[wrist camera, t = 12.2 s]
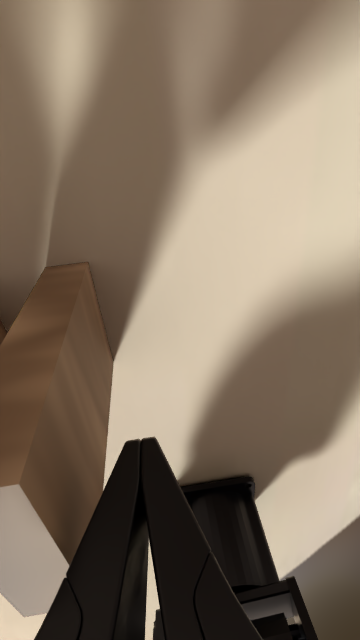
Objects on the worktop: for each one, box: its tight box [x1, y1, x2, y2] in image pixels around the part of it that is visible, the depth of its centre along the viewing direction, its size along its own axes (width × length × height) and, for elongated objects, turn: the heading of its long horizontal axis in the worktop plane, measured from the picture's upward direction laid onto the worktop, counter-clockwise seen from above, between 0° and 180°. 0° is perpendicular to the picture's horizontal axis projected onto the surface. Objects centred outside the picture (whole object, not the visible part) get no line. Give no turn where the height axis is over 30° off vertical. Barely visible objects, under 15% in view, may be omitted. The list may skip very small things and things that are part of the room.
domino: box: [0, 262, 113, 617], centre depth 11 cm, size 2×6×10 cm, turn 5°
